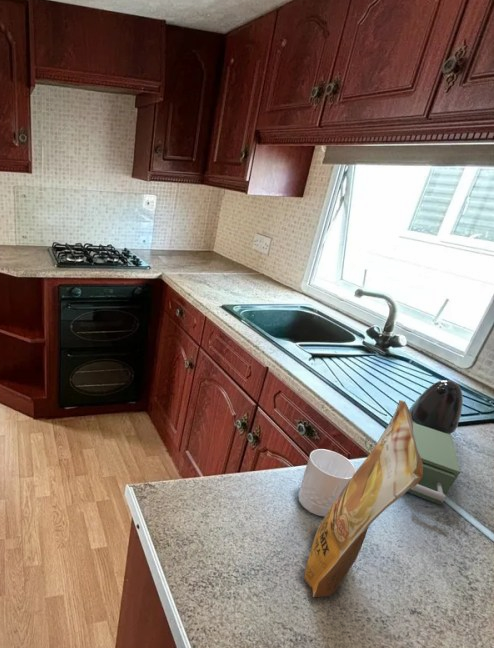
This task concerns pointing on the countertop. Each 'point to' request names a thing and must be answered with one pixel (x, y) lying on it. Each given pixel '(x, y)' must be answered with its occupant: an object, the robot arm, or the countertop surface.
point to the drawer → (433, 483)
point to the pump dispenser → (439, 407)
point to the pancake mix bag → (364, 503)
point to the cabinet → (436, 450)
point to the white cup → (324, 480)
